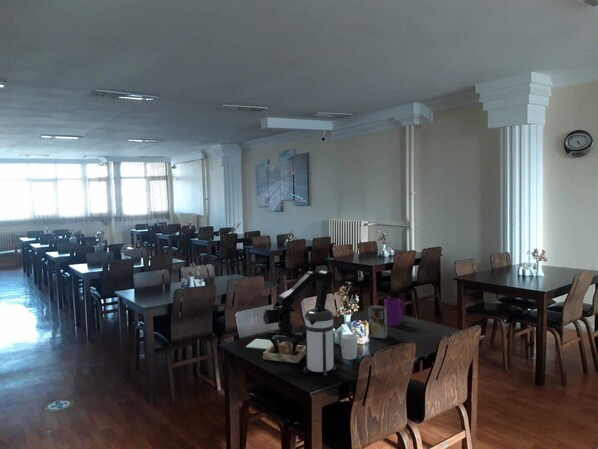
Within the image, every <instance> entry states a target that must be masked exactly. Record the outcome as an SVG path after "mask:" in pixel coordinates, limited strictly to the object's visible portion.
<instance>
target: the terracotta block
mask: <svg viewBox="0 0 598 449" xmlns="http://www.w3.org/2000/svg"><path fill="white" fill-rule="evenodd" d="M292 345H293V341H292V342H290V341H282V342H281V343H280V345H279V350H278V353H279V354H286V355H293V351H292Z"/></svg>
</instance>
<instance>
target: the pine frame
mask: <svg viewBox="0 0 598 449" xmlns="http://www.w3.org/2000/svg"><path fill="white" fill-rule="evenodd" d="M280 344H281V343H279V342H278V351H279V345H280ZM275 352H276V350H275V347H274V345H272V346H271V347H269V348H268V349H267V350H266V349H265V351H263V352H262V359H263V360H265V361H276V362H277V361H278V362H284V363H285V362H287V363H295V364H298V363H300V361H301V360H302V359H303V357H304V356H306V345H299V344H298V345H297V348H296V351H295V353H297V354H296V355H294V354H292V355H286V354H280V353H277V352H276V353H275ZM292 352H293V344H292Z"/></svg>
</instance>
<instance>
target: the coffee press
mask: <svg viewBox="0 0 598 449" xmlns="http://www.w3.org/2000/svg"><path fill="white" fill-rule="evenodd" d="M316 307H317V308H315V307H314V308H311V309H309V310H307V311H306V312H305V315H304V319H305V324H304V328H305V331H304V333H305V346H306V354H305V367H304V368H303V373H304V374H308V372H310V371H311V372H314V373H321V374H322V375H323V376H322V377H325V378H326V377H328V373H327V372H329V371H331V370H336V369H337V366H336V365H335V363H334V360H335V359H334V355H335V354H334V328H335V327H334V326H335V325H334V318H335V315H334V314H333V312H332V311H331V310H330V309H328V308H325V309H324V308H321V307H322V306H321V304H318V305H317V306H316Z"/></svg>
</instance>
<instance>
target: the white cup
mask: <svg viewBox="0 0 598 449" xmlns="http://www.w3.org/2000/svg"><path fill="white" fill-rule="evenodd" d="M358 338H359V337H358V335H356V334H351V333H349V334H348V333H347V334H342V335H341V336H340V343H341V344H340V345H341V346H340V347H341V355H342V356H341V357H342V358H343V359H345V360H348V361H350V360H351V361H352V360H355V359H357V353H358Z"/></svg>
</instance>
